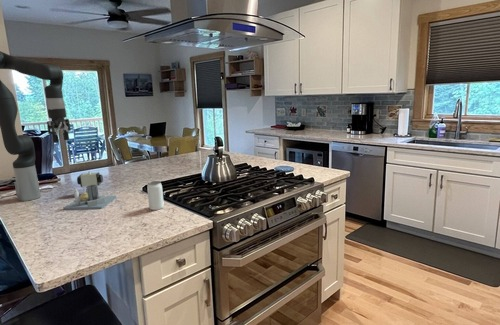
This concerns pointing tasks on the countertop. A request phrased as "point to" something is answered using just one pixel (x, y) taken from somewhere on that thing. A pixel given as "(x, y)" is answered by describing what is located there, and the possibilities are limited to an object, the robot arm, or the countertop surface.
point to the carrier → (93, 204)
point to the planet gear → (92, 193)
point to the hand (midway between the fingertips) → (61, 141)
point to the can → (155, 195)
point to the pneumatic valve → (89, 179)
